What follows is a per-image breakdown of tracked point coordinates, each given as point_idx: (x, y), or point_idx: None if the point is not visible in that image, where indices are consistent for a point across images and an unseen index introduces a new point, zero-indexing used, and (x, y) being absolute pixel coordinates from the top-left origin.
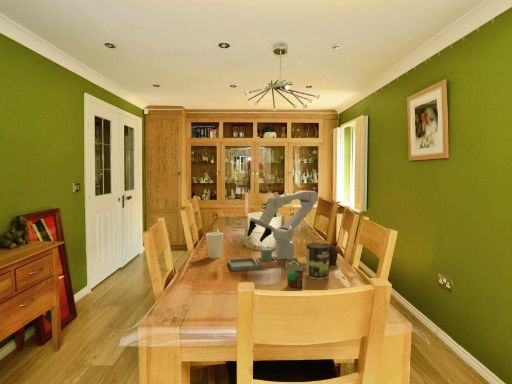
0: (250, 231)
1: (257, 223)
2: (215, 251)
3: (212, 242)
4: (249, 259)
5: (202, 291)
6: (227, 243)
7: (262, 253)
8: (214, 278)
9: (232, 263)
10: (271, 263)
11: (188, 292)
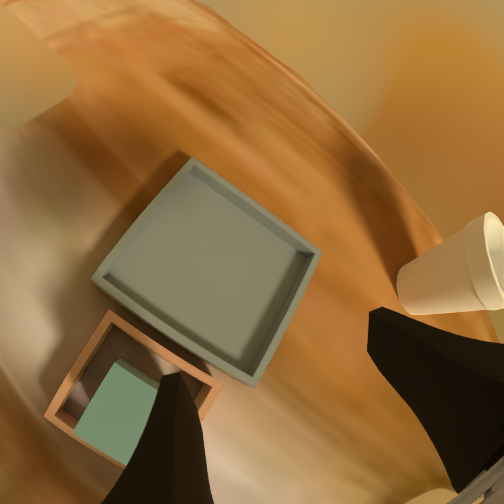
0: (405, 357)
1: (479, 495)
2: (419, 263)
3: (455, 234)
4: (257, 361)
5: (127, 18)
6: None
7: (136, 374)
8: (176, 78)
9: (278, 250)
10: (65, 379)
11: (153, 8)
